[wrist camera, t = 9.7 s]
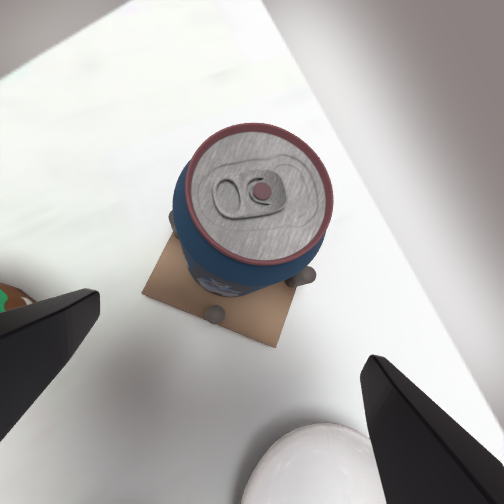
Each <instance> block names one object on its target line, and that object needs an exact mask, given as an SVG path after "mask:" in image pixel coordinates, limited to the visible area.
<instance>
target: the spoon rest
mask: <svg viewBox="0 0 504 504" xmlns="http://www.w3.org/2000/svg"><path fill="white" fill-rule="evenodd" d="M240 504H386V500H385V496H384V492H383V488H382V484H381V480H380V476H379V472H378V468H377V464H376V460H375V456H374V452H373V448H372V444H371V440H370V439H369V438H367V437H366V436H364V435H363V434H361V433H359V432H358V431H356V430H354V429H351V428H349V427H346V426H343V425H338V424H332V423H316V424H310V425H305V426H302V427H299V428H297V429H295V430H293V431H291V432H289V433H287V434H285V435H284V436H282V437H281V438H280V439H278V440H277V441H276V442H275V443H274V444H273V445H272V446H271V447H270V448H269V449H268V450H267V451H266V453H265V454H264V455H263V457H262V458H261V459H260V461H259V462H258V464H257V465H256V467H255V469H254V471H253V472H252V474H251V476H250V478H249V480H248V483H247V485H246V488H245V490H244V493H243V496H242V499H241V503H240Z"/></svg>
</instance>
